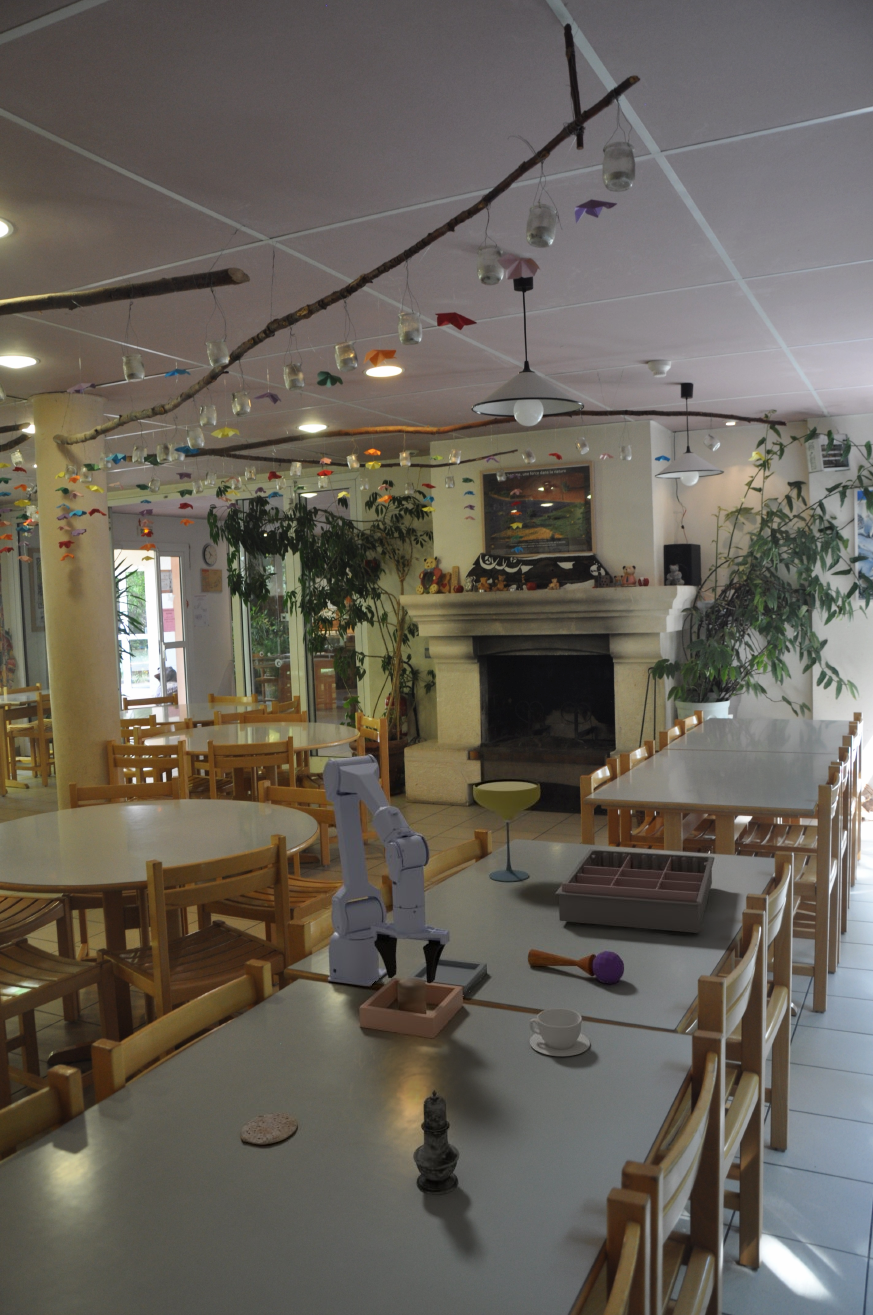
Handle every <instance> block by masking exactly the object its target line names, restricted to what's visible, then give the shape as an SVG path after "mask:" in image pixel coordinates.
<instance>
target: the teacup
mask: <svg viewBox="0 0 873 1315" xmlns="http://www.w3.org/2000/svg"><path fill="white" fill-rule="evenodd" d="M582 1022H583V1017H582V1015H581V1014H580V1013H578V1012H577V1011H575V1010H573V1009H569V1008H561V1007H556V1008H549V1009H545V1010H542V1011H541V1012H539V1013H538V1014H537V1016H536V1018H532V1019H530V1021H529V1028H530V1031H531V1032H532V1033H534V1034H533V1035H532V1036H531V1037H530V1039H529V1045H530V1047H531V1048H533V1049H534V1050H535V1051H536V1052H539V1053H540V1054H543V1055H548V1056H553V1057H570V1056H572V1057H573V1056H575V1055H579V1054H582V1053H584V1052H586V1051H587V1050H588V1049H589V1048H590V1047H591V1040H590V1039H589V1038H588V1037H587V1036H586V1035H585V1034H583V1033H582V1032H581V1031H582ZM533 1023H535V1025H536V1026H537V1028H535V1027H534V1025H533Z"/></svg>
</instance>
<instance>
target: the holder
mask: <svg viewBox="0 0 873 1315" xmlns="http://www.w3.org/2000/svg"><path fill="white" fill-rule="evenodd" d="M403 979H404V978H399V977H392V978H390V980H389V981H387V982H386V983H385V984H384V985H383V986H381V987H380V989H378V990H377V991H376V992H375V993H374V994H373V995H372V996H371V997H369V998H368V999H367V1000H365V1002H364V1003H362V1004H361V1005H360V1006H359V1008H358V1011H359V1013H358V1014H359V1027H360V1028H365V1029H373V1030H376V1031H377V1030H378V1031H384V1032H390V1033H396V1032H397V1034H403V1035H404V1034H405V1035H410V1036H416V1037H422V1038H427V1039H428V1038H430V1039H434V1038H435V1037H437V1035H438V1034H439V1033H440V1032H441V1031H442V1029H444V1028H445V1026H446V1025H447V1024H448V1021H449V1020H450V1021H451V1020H452V1018H453V1017H454V1016H456V1014H457V1013H458V1012H459V1011H460V1009H462V1007H463V1006H464V1001H463V1000H464V999H463V998H464V996H463V989H462V987H460V986H453V985H445V984H438V983H427V982H425V984H426V1004H431V1005H432V1004H433V1005H438V1004H439V1005H438V1006H436V1008H435V1009H434V1010H433V1011H432V1012H431V1013H430V1014H428V1013H426V1014H420V1013H413V1012H406V1011H399V1010H398V1009H393V1008H388V1007H389V1006H390V1005H391V1004H392V1003H393V1002H394V1001H395V1000H398V982H399V981H401V980H403ZM461 1006H462V1007H461ZM458 1010H459V1011H458ZM457 1011H458V1012H457ZM456 1012H457V1013H456ZM455 1013H456V1014H455ZM450 1021H449V1022H450ZM440 1030H441V1031H440Z"/></svg>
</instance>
